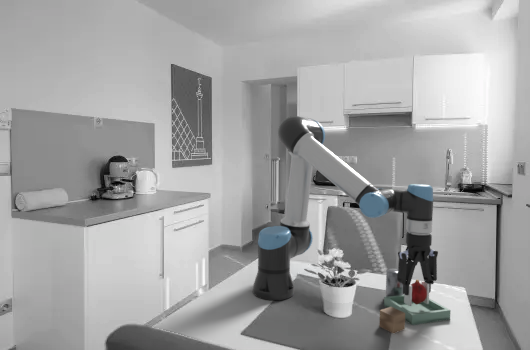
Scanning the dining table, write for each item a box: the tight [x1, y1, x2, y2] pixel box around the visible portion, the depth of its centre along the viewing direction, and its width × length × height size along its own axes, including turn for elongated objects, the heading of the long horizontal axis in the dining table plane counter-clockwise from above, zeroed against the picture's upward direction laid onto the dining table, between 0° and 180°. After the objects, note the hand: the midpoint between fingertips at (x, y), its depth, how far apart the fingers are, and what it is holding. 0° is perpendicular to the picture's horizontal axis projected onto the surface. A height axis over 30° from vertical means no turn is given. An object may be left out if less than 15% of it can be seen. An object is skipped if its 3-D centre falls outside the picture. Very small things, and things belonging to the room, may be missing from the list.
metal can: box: [385, 268, 404, 297], centre depth 125 cm, size 6×6×10 cm
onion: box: [410, 279, 427, 304], centre depth 114 cm, size 6×6×8 cm
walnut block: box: [378, 307, 406, 334], centre depth 104 cm, size 5×5×5 cm
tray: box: [383, 295, 451, 326], centre depth 114 cm, size 14×14×3 cm
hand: (416, 303), depth 114 cm, fingers closed on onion, 6 cm apart
